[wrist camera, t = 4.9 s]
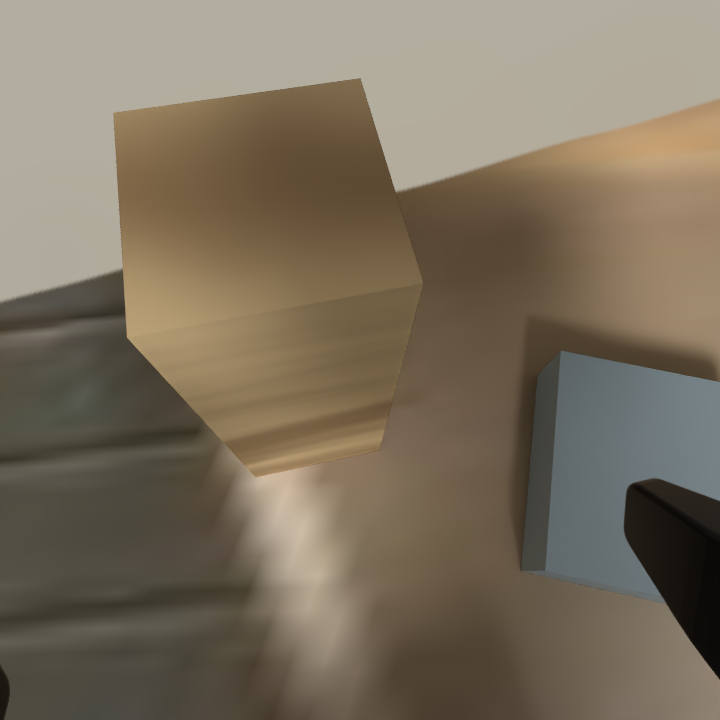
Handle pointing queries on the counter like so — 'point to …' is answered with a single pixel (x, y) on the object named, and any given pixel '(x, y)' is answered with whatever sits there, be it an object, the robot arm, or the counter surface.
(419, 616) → the counter surface
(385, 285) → the oak pillar
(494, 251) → the counter surface
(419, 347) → the counter surface
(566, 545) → the slate base block
